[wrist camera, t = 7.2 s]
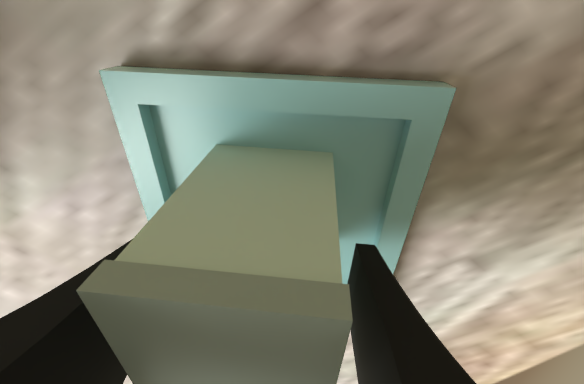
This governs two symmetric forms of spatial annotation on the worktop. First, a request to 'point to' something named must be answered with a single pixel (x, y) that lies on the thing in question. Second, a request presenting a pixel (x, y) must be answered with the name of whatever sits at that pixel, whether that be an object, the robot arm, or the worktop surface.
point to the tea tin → (232, 277)
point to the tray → (288, 136)
